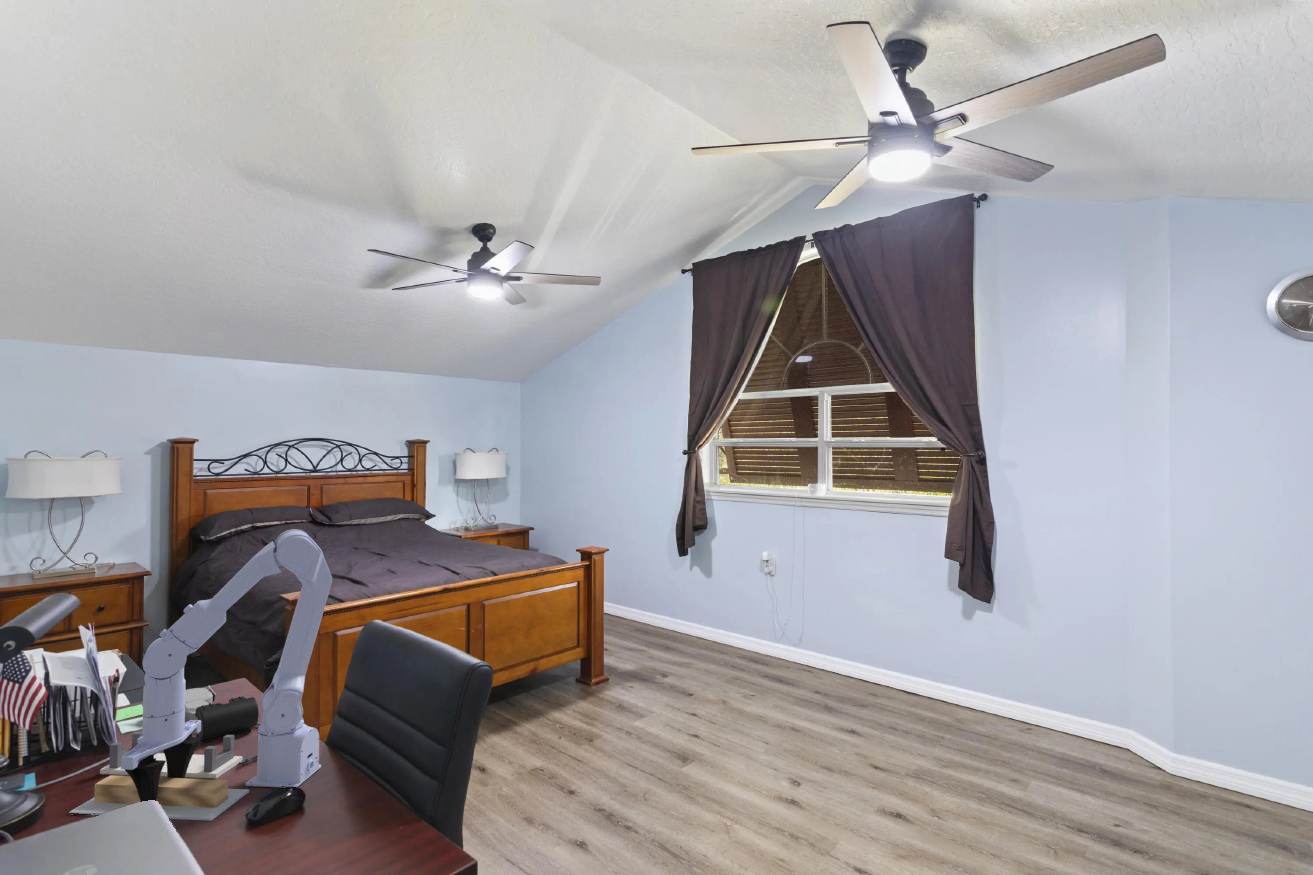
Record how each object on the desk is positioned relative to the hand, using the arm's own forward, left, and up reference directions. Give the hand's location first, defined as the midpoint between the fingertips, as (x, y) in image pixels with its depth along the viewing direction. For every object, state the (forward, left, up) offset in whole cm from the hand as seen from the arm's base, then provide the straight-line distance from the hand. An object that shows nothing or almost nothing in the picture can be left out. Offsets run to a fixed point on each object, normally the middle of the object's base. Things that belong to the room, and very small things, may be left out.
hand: (162, 792), depth 112 cm
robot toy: (+22, -34, -2) cm, 41 cm away
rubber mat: (0, 0, -2) cm, 2 cm away
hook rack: (+8, -12, -2) cm, 15 cm away
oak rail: (0, 0, -1) cm, 1 cm away
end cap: (+8, -26, -2) cm, 27 cm away
